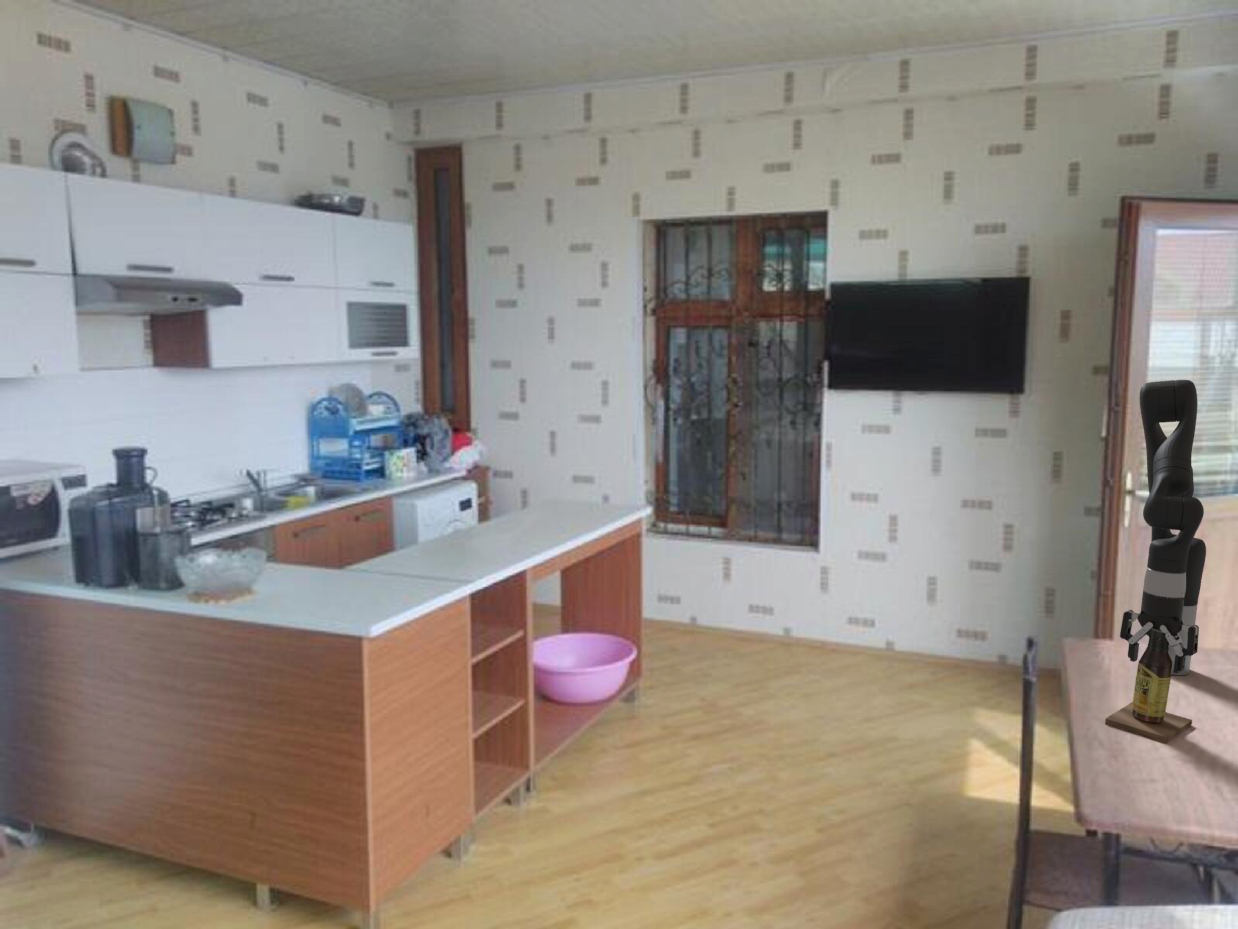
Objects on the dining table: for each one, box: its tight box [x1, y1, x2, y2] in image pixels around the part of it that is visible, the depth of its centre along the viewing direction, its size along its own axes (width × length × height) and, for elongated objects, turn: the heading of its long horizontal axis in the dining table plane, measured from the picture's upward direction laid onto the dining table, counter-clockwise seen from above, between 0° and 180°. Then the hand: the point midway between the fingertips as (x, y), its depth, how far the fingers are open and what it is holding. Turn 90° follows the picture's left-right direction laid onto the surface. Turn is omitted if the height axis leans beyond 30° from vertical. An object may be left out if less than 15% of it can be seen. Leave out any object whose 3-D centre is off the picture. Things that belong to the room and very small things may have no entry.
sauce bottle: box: [1131, 628, 1172, 723], centre depth 204 cm, size 7×6×20 cm
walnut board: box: [1104, 701, 1193, 744], centre depth 205 cm, size 14×12×1 cm
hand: (1155, 666), depth 203 cm, fingers open, 8 cm apart
